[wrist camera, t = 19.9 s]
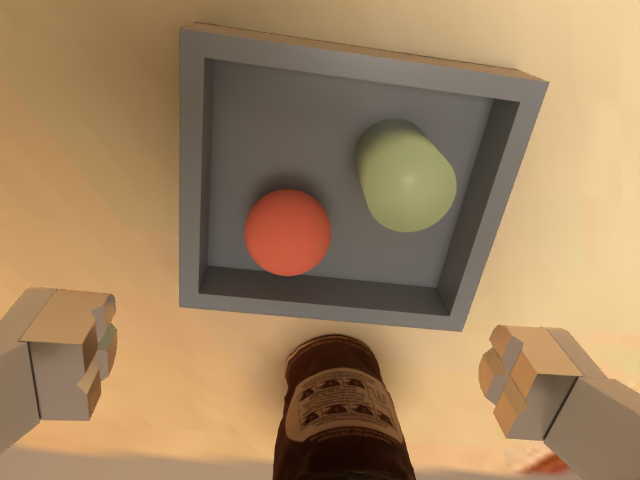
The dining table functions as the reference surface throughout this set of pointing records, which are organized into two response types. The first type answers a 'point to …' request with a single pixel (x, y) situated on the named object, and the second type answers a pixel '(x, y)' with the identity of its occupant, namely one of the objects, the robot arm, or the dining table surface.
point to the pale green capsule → (403, 176)
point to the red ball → (287, 232)
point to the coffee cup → (338, 417)
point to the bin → (339, 172)
